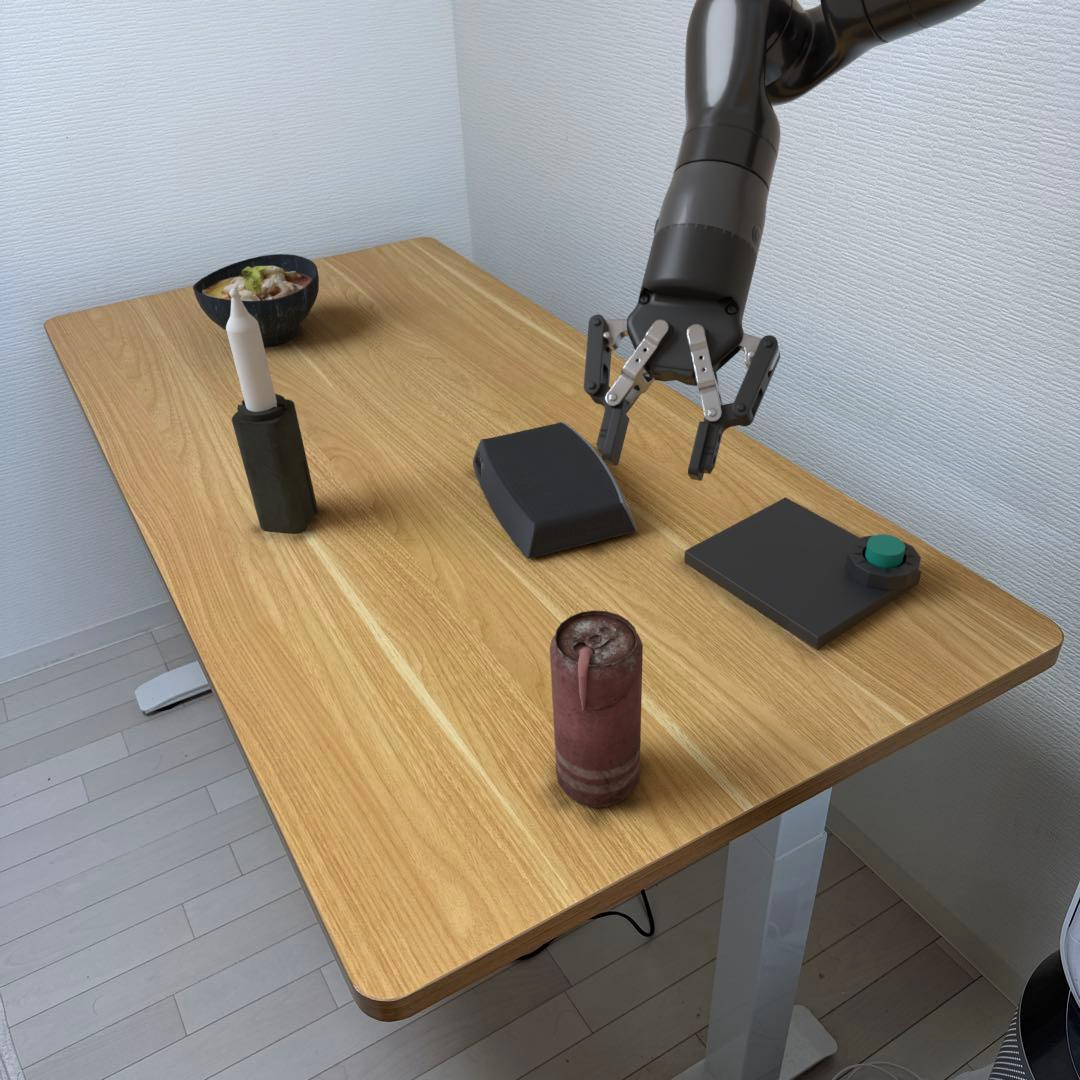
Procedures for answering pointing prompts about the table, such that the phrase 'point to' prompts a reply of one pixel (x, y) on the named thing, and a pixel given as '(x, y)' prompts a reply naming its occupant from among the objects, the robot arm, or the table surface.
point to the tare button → (885, 551)
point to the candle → (268, 433)
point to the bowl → (263, 293)
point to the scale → (802, 571)
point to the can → (597, 707)
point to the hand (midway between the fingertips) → (651, 469)
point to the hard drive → (551, 490)
